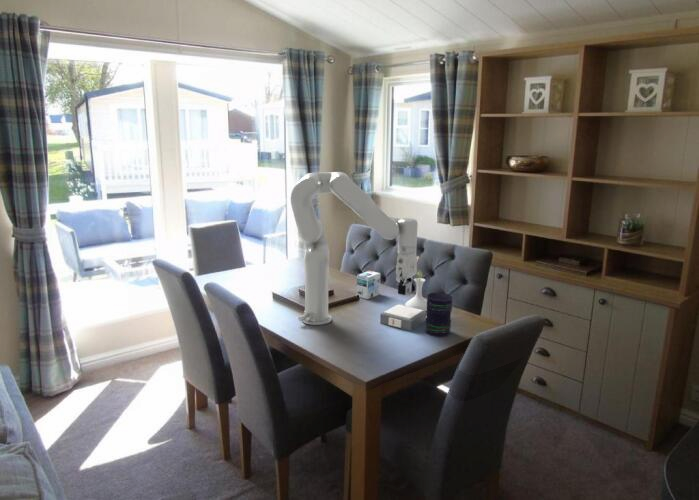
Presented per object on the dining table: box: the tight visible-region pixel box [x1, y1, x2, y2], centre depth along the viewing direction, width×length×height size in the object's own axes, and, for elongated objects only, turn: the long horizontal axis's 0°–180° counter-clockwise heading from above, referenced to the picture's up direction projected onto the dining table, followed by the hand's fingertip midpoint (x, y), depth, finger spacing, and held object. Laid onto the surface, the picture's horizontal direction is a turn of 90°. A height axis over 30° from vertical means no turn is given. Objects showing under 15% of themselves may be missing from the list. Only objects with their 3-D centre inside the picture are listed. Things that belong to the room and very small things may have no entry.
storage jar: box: [424, 292, 453, 338], centre depth 207 cm, size 10×10×15 cm
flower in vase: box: [404, 256, 427, 312], centre depth 231 cm, size 13×11×25 cm
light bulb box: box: [356, 270, 381, 300], centre depth 251 cm, size 11×7×11 cm, turn 143°
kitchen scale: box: [379, 304, 427, 332], centre depth 218 cm, size 15×14×5 cm
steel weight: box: [399, 279, 413, 297], centre depth 216 cm, size 5×5×5 cm
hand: (405, 292), depth 216 cm, fingers closed on steel weight, 5 cm apart
